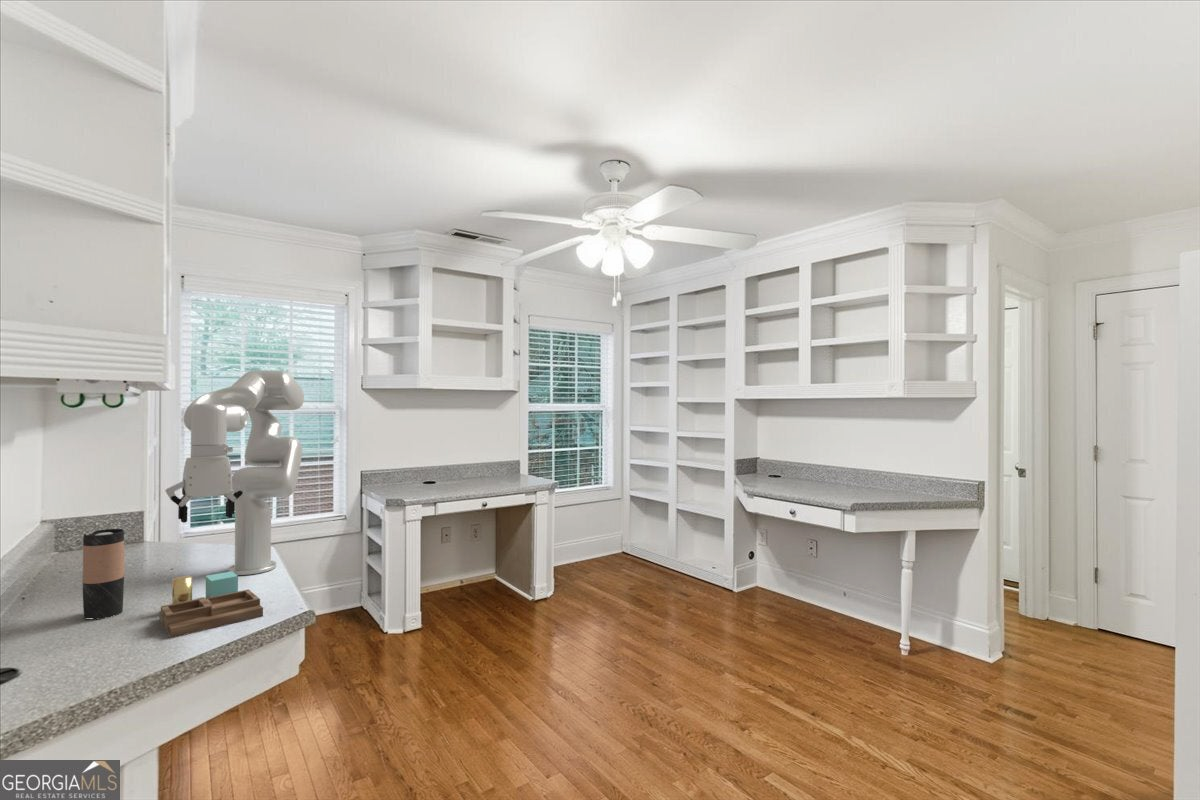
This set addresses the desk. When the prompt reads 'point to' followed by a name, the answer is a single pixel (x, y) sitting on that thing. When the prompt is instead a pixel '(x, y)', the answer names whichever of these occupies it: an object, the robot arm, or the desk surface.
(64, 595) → the desk surface
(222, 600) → the organizer
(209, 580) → the block
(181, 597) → the peg
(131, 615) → the desk surface
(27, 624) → the desk surface
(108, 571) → the travel mug
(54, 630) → the desk surface
